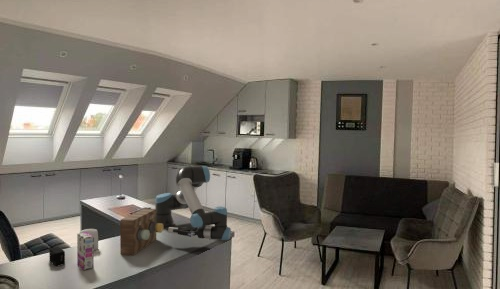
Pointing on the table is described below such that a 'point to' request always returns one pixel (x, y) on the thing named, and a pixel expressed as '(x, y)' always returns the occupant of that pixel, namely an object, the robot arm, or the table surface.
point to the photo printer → (93, 233)
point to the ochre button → (159, 227)
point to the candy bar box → (85, 250)
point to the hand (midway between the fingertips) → (169, 229)
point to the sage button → (145, 234)
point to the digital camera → (57, 256)
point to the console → (137, 231)
